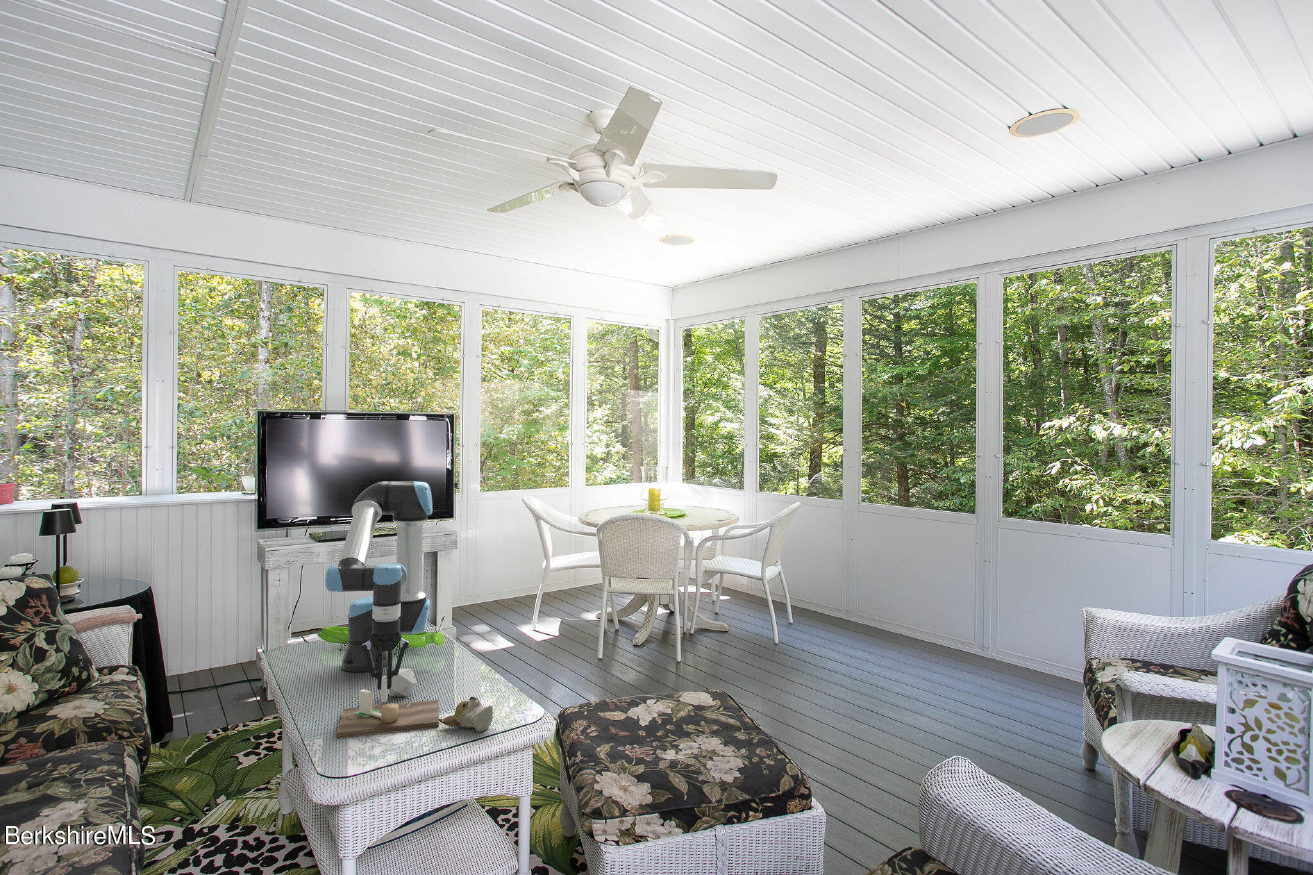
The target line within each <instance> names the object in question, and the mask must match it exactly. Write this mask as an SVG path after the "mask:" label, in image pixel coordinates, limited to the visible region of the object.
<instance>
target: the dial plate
mask: <svg viewBox="0 0 1313 875" xmlns="http://www.w3.org/2000/svg"><path fill="white" fill-rule="evenodd" d="M397 704H398V705H399V708H398V720H397V721H395V722H391V723H384V722H382V721H381V718H379V717H376V716H373V715H368V714H365V713H362V712H359V706H358V707H348V708H343V711H342V713H341V717H340V720H339V724H338V726H337V729H336V733H335V734H336V735H335V738H336V739H341V738H350V737H358V736H370V735H377V734H387V733H388V734H389V733H397V732H404V731H405V732H407V731H415V730H422V729H423V730H424V729H433V728H439V727H440V721H439V720H438V719H440V714H439V713H440V708H439V705H440V704H439V699H432V700H421V701H409V702H401V703H399V702H398V703H397ZM383 705H384V704H381V705H378V704H377V705H373V712H377V713H380V714H381V710H382V706H383Z"/></svg>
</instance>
